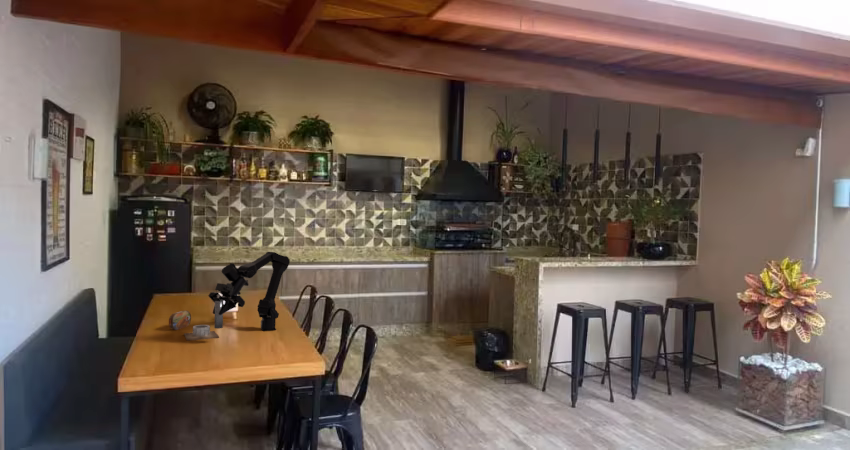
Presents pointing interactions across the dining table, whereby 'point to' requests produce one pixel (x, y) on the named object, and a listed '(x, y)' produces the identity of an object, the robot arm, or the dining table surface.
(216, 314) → the rail post
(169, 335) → the dining table surface
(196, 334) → the ring
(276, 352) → the dining table surface
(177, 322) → the tin
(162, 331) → the dining table surface
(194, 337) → the bracket plate
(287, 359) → the dining table surface
